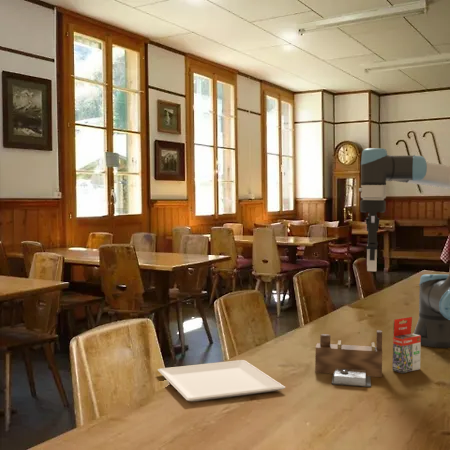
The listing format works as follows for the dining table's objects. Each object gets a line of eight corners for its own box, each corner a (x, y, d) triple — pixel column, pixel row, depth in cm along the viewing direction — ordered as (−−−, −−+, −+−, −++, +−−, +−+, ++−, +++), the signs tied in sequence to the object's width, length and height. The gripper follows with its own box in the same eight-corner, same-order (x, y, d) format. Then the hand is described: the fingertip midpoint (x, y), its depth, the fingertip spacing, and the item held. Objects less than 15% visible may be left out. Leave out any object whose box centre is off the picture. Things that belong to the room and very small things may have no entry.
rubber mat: (370, 377, 167) (370, 376, 167) (370, 387, 159) (370, 385, 159) (333, 375, 169) (333, 373, 169) (331, 384, 161) (331, 382, 161)
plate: (186, 407, 144) (186, 399, 144) (156, 375, 168) (156, 368, 168) (286, 394, 154) (286, 386, 154) (244, 366, 178) (244, 359, 178)
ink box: (420, 369, 175) (422, 318, 174) (401, 374, 171) (403, 321, 170) (410, 366, 178) (411, 316, 177) (391, 370, 174) (392, 319, 173)
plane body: (381, 371, 173) (382, 329, 172) (381, 377, 168) (382, 333, 167) (316, 367, 176) (317, 325, 176) (315, 372, 172) (315, 329, 171)
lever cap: (365, 377, 166) (365, 368, 166) (365, 385, 159) (365, 375, 159) (335, 375, 167) (335, 366, 167) (333, 383, 161) (334, 373, 160)
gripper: (360, 198, 201) (359, 263, 203) (360, 199, 177) (358, 273, 178) (384, 198, 200) (382, 263, 201) (387, 200, 175) (385, 274, 177)
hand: (371, 268), depth 190 cm, fingers open, 13 cm apart
